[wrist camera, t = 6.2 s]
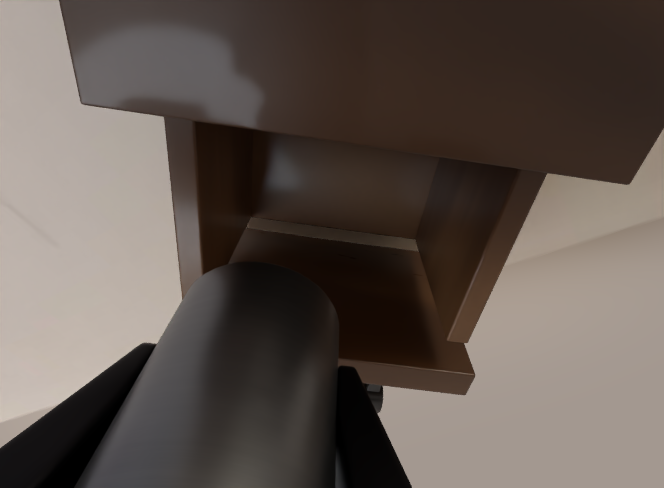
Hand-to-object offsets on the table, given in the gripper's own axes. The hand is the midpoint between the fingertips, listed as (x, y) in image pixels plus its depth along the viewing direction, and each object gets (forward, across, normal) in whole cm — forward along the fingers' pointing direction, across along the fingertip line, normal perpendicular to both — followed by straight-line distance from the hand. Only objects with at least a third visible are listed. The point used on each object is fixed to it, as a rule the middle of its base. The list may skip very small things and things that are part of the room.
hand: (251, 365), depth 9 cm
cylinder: (+1, 0, 0) cm, 1 cm away
